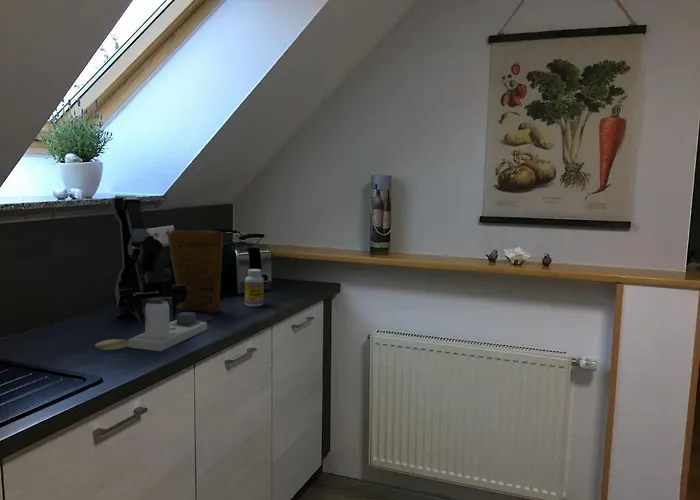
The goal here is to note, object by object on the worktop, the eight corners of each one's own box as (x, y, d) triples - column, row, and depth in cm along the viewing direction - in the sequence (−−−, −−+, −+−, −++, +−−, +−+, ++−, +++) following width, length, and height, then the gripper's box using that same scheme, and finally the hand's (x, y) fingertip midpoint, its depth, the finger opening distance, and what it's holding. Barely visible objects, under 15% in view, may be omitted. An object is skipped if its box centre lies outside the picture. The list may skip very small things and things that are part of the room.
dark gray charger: (176, 324, 180) (176, 314, 179) (184, 321, 184) (184, 311, 183) (188, 325, 179) (188, 315, 178) (195, 322, 182) (195, 312, 182)
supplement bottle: (248, 307, 213) (248, 271, 211) (242, 303, 219) (242, 268, 217) (266, 306, 216) (266, 270, 214) (260, 302, 222) (260, 268, 220)
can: (162, 347, 164) (161, 304, 162) (140, 345, 165) (140, 302, 164) (174, 341, 170) (173, 299, 169) (153, 339, 171) (152, 298, 170)
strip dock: (128, 347, 163) (128, 338, 163) (178, 326, 186) (178, 318, 186) (160, 351, 161) (160, 342, 160) (207, 329, 183) (207, 321, 183)
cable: (198, 327, 185) (198, 324, 185) (195, 327, 186) (195, 323, 185) (213, 319, 196) (213, 316, 195) (210, 319, 196) (210, 316, 196)
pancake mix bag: (219, 314, 202) (218, 231, 198) (167, 310, 206) (166, 228, 202) (227, 310, 208) (227, 229, 205) (177, 306, 213) (176, 227, 209)
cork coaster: (87, 347, 162) (87, 346, 162) (110, 339, 170) (110, 337, 170) (116, 351, 159) (116, 350, 159) (137, 342, 168) (137, 341, 168)
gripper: (117, 260, 163) (126, 308, 155) (186, 256, 173) (198, 301, 165) (112, 283, 171) (121, 331, 163) (178, 279, 181) (189, 323, 173)
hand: (158, 321), depth 166 cm, fingers open, 8 cm apart
